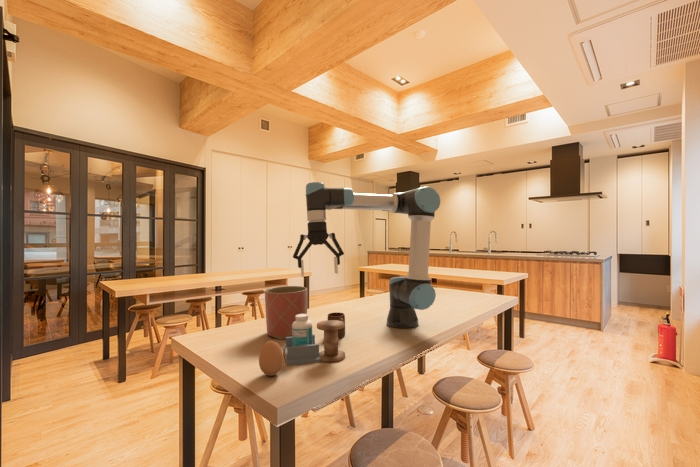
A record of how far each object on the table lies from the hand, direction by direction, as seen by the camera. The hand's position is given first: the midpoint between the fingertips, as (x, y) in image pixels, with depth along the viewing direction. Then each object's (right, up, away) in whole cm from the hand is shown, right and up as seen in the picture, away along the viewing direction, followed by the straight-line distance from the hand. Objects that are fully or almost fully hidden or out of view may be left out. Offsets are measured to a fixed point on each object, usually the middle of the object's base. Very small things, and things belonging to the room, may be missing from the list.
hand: (319, 274), depth 127 cm
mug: (+7, -29, +10) cm, 31 cm away
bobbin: (+5, -28, -12) cm, 31 cm away
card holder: (-6, -28, -9) cm, 30 cm away
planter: (-16, -29, +17) cm, 38 cm away
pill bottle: (-5, -28, -9) cm, 29 cm away
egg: (-13, -29, -26) cm, 41 cm away
